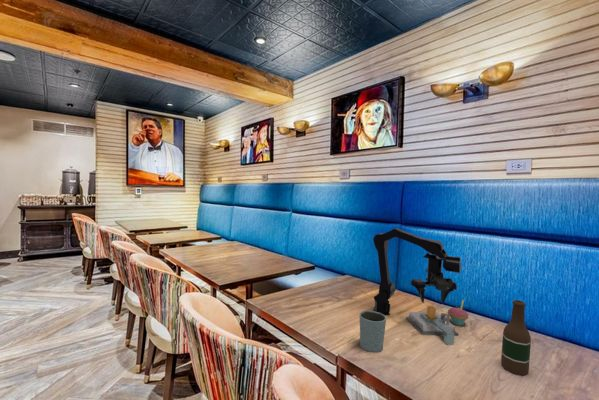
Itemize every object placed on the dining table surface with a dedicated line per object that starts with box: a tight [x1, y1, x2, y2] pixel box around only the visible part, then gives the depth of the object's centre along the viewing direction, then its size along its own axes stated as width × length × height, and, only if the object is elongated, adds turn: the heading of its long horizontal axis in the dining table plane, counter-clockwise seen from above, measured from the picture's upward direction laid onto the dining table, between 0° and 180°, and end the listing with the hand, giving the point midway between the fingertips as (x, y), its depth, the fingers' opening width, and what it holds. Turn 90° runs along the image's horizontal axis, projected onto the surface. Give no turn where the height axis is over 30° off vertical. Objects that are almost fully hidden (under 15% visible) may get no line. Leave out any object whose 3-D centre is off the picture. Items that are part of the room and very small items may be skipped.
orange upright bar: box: [426, 305, 437, 319], centre depth 130 cm, size 3×3×8 cm
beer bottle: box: [500, 299, 532, 377], centre depth 100 cm, size 8×8×24 cm
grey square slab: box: [405, 311, 459, 345], centre depth 127 cm, size 16×24×6 cm
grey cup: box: [358, 310, 387, 354], centre depth 111 cm, size 10×10×12 cm
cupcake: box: [447, 299, 469, 327], centre depth 135 cm, size 9×8×12 cm
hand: (432, 302), depth 130 cm, fingers open, 9 cm apart
